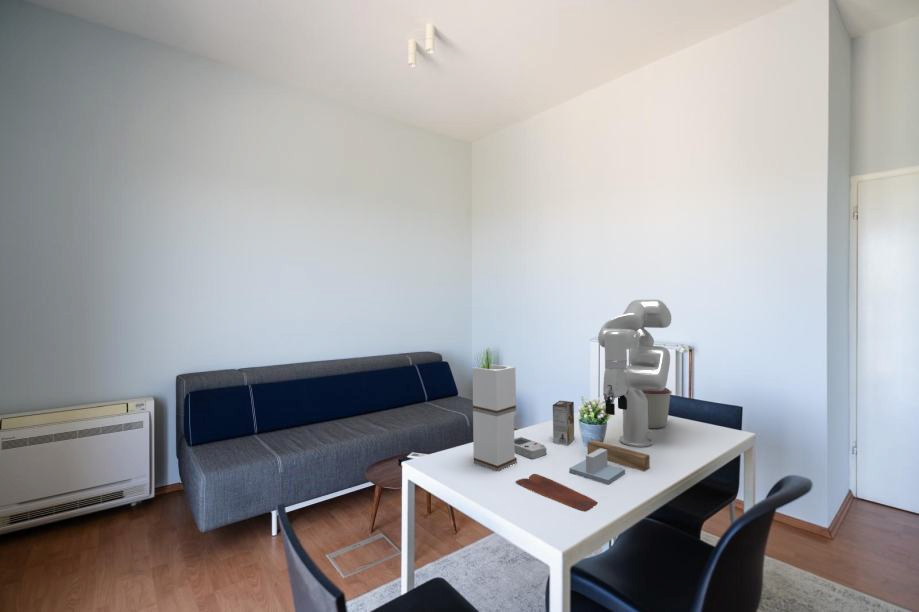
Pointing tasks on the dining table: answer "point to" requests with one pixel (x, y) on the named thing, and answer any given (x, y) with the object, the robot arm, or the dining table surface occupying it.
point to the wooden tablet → (557, 492)
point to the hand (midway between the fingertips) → (616, 411)
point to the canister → (657, 407)
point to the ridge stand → (597, 468)
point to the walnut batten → (622, 455)
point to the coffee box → (563, 422)
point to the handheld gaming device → (529, 448)
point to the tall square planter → (494, 416)
